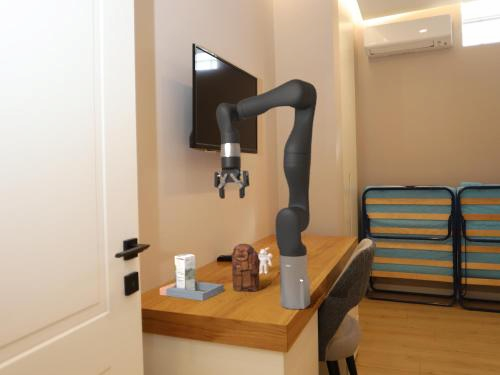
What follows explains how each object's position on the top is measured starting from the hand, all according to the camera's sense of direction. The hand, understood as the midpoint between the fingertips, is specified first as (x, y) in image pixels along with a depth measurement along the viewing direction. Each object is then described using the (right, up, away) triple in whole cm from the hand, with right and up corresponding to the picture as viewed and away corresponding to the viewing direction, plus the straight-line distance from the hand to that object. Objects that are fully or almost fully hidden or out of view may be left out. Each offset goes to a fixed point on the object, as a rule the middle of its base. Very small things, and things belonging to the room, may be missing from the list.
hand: (231, 198), depth 151 cm
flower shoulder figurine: (+13, -36, +31) cm, 49 cm away
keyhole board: (-15, -37, +1) cm, 40 cm away
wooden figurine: (+5, -36, +4) cm, 37 cm away
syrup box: (-18, -37, +3) cm, 41 cm away
